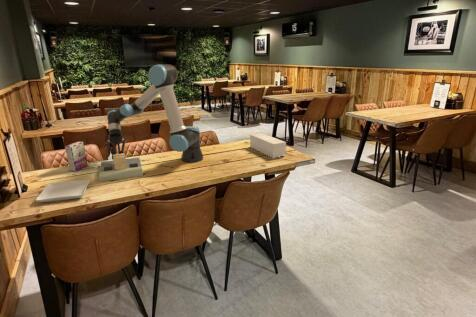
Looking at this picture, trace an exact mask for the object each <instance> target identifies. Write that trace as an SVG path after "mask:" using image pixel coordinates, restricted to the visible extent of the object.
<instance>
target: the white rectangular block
mask: <svg viewBox="0 0 476 317" xmlns="http://www.w3.org/2000/svg"><path fill="white" fill-rule="evenodd" d="M249 136H250V138H249V148H250V147H251V148H250V149H252V148H254V149H256V150H258V151H260V152H259V153H261V152H262V153H261V154H263V153H264V154H263V155H265V154H266V155H265V156H267V155H268V156H267V157H269V156H270V157H269V158H271V157H272V158H271V159H273V158H274V159H277V158H276V157H279V156H283V155H285V156H287V155H286V151H287V150H286V148H287V142H286V141H285V140H282V139H279V138H276V137H273V136H270V135H268V134H265V133H264V132H263V133H262V132H258V133H251V134H250V135H249ZM254 149H253V150H254ZM256 150H255V151H256ZM258 151H257V152H258ZM279 158H280V157H279Z"/></svg>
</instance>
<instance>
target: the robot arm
mask: <svg viewBox="0 0 476 317" xmlns="http://www.w3.org/2000/svg"><path fill="white" fill-rule="evenodd" d="M178 75H179V73H178V70H177V68H176V67H175V66H174V65H172V64H167V63H166V64H154V65H152V66H151V67H150V68H149V71H148V74H147V76H148V77H147V78H148V81H149V82H150V84H151V85H150V86H149V87H148V88H147V89H146V90H145V91H144V92H142V94H141V95H140V96H139V97H138V98H137V99H136V100H135V101H134V102H132V104H128V103H125V104H122V105H121V106H120V107H119V108H117V109H111V110H108V111H107V117H106V118H107V126H108V127H107V128H108V136H109V137H108V139H107V140H105V141H104V142H105V144H106V145H107V147H108V149H109V151H110V154H111V155H116V154H124V152H125V147H126V143H127V138H123V136H122V128H121V127H122V126H121V122H122V121H123V120H125V119H127V118H129V117H134V116H137V115H140V114H143V112H144V109H145V108H147V106H149V105H150V103H152V102H153V101H154V100H155V99H156V98H157V97H158V96H159V95H160V99H161V102H162V105H163V108H164V111H165V115H166V118H167V121H168V125H169V126H170V131H169V135H170V137H169V140H168V141H169V142H168V143H169V147H171V149H172V150H174V151H175V152H178V153H181V152H182V153H181V159H180V160H181V161H182V162H185V163H197V162H201V161H203V160H204V154H203V151H202V149H201V135H200V134H201V133H200V132H201V131H200V128H199V127H198V126H190V125H189V126H186V125H185V123H184V121H183V118H182V114H181V111H180V108H179V105H178V101H177V98H176V94H175V92H174V87H175V82H177V79H178V77H179V76H178ZM110 143H111V144H112V146H113V148H112V147H111V144H110ZM121 143H122V145H120V144H121ZM116 145H117V148H116ZM120 146H121V147H120Z"/></svg>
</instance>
